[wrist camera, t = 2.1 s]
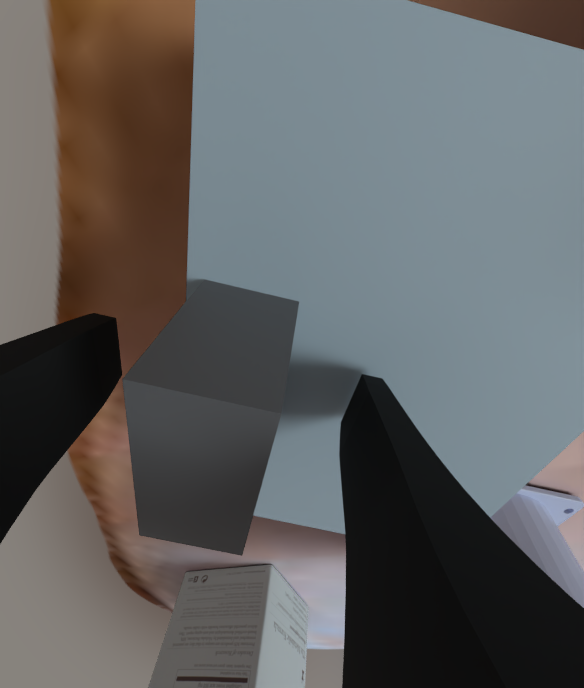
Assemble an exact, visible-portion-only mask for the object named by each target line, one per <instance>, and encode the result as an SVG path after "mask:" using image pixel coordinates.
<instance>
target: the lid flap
mask: <svg viewBox="0 0 584 688" xmlns="http://www.w3.org/2000/svg"><path fill="white" fill-rule="evenodd" d="M362 374H365V375H369V376H374V377H378V378H382V379H383V380H384V381H385V383H386V384H387V385H388V387H389V388H390V390H391V391H392V393H393V394H394V396H395V397H396V399H397V400H398V402H399V403H400V405H401V406H402V407H403V409H404V410H405V412H406V413H407V415H408V416H409V418H410V419H411V421H412V422H413V423H414V425H415V426H416V428H417V429H418V431H419V432H420V433H421V435H422V436H423V437H424V439H425V440H426V442H427V443H428V444H429V446H430V447H431V448H432V450H433V451H434V452H435V454H436V455H437V456H438V457H439V459H440V460H441V461H442V462H443V464H444V465H445V466H446V467H447V469H448V470H449V471H450V472H451V474H452V475H453V476H454V477H455V479H456V480H457V481H458V482H459V483H460V484H461V486H462V487H463V488H464V489H465V490H466V492H467V493H468V494H469V495H470V496H471V497H472V498H473V499H474V500H475V501H476V503H477V504H478V505H479V506H480V507H481V508H482V509H483V510H484V511H485V513H486V514H487V515H488V516H489V517H492V516H493V515H494V514H495V513H496V512H497V511H498V510H499V509H500V508H501V507H502V506H503V505H504V504H506V503H507V502H508V501H509V500H510V499H511V498H512V497H513V496H514V495H515V494H516V493H517V492H518V491H520V490H521V489H522V488H523V487H524V486H525V485H526V484H527V483H528V482H529V481H530V480H531V479H533V478H534V477H535V476H536V475H537V474H538V473H539V472H540V471H541V470H542V469H543V468H544V467H545V466H547V465H548V464H549V463H550V462H551V461H552V460H553V459H554V458H555V457H556V456H557V455H558V454H559V453H561V452H562V451H563V450H564V449H565V448H566V447H567V446H568V445H569V444H570V443H571V442H572V441H573V440H575V439H576V438H577V437H578V436H579V435H580V434H581V433H582V432H583V431H584V50H582V49H579V48H575V47H572V46H568V45H565V44H561V43H557V42H554V41H550V40H547V39H543V38H540V37H536V36H532V35H529V34H525V33H522V32H518V31H515V30H511V29H507V28H504V27H500V26H497V25H493V24H490V23H486V22H483V21H479V20H475V19H472V18H468V17H465V16H461V15H458V14H454V13H450V12H447V11H443V10H440V9H436V8H433V7H429V6H425V5H422V4H418V3H415V2H411V1H408V0H196V5H195V36H194V68H193V99H192V131H191V162H190V194H189V226H188V257H187V289H186V302H185V303H184V305H183V306H182V307H181V308H180V309H179V311H178V312H177V313H176V314H175V316H174V317H173V318H172V319H171V320H170V322H169V323H168V324H167V325H166V327H165V328H164V329H163V330H162V331H161V333H160V334H159V335H158V336H157V338H156V339H155V340H154V341H153V342H152V344H151V345H150V346H149V347H148V349H147V350H146V351H145V352H144V353H143V355H142V356H141V357H140V358H139V359H138V361H137V362H136V363H135V364H134V366H133V367H132V368H131V369H130V370H129V372H128V373H127V374H126V375H125V377H124V378H123V379H122V380H123V389H124V398H125V407H126V417H127V426H128V435H129V444H130V453H131V463H132V472H133V481H134V490H135V499H136V509H137V518H138V527H139V535H141V536H146V537H151V538H156V539H161V540H166V541H171V542H176V543H181V544H186V545H191V546H197V547H202V548H207V549H212V550H217V551H222V552H227V553H232V554H237V555H242V554H243V550H244V547H245V543H246V539H247V536H248V532H249V529H250V525H251V521H252V518H253V516H258V517H263V518H268V519H273V520H278V521H282V522H287V523H292V524H297V525H302V526H307V527H312V528H317V529H322V530H326V531H331V532H336V533H341V534H345V522H344V510H343V498H342V485H341V472H340V459H339V447H340V426H341V421H342V418H343V416H344V414H345V411H346V409H347V407H348V405H349V402H350V400H351V398H352V395H353V393H354V391H355V388H356V386H357V384H358V382H359V379H360V377H361V375H362Z"/></svg>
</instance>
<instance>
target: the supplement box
mask: <svg viewBox="0 0 584 688" xmlns="http://www.w3.org/2000/svg"><path fill="white" fill-rule="evenodd" d="M307 629H308V606H307V605H306V604H305V603H304V602H303V601H302V600H301V598H300V597H299V596H298V595H297V594H296V592H295V591H294V590H293V589H292V588H291V587H290V585H289V584H288V583H287V582H286V581H285V579H284V578H283V577H282V576H281V575H280V574H279V572H278V571H277V570H276V569H275V568H274V566H273V565H271V564H270V565H259V566H248V567H236V568H224V569H213V570H202V571H189V572H186V573H185V576H184V579H183V582H182V585H181V588H180V591H179V594H178V597H177V600H176V604H175V607H174V610H173V613H172V616H171V619H170V622H169V625H168V628H167V631H166V634H165V637H164V640H163V643H162V646H161V650H160V653H159V656H158V659H157V662H156V665H155V668H154V671H153V674H152V678H151V680H150V684H149V687H148V688H305V674H306V673H305V672H306V652H307Z"/></svg>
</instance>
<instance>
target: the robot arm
mask: <svg viewBox="0 0 584 688" xmlns="http://www.w3.org/2000/svg"><path fill="white" fill-rule="evenodd" d="M121 376H122V368H121V359H120V350H119V340H118V331H117V322H116V318H113V317H109V316H105V315H100V314H96V313H93V314H89V315H85V316H82V317H79V318H76V319H73V320H70V321H67V322H64V323H61V324H58V325H55V326H53V327H50V328H47V329H44V330H42V331H39V332H36V333H33V334H30V335H27V336H24V337H22V338H19V339H16V340H13V341H10V342H8V343H5V344H2V345H0V543H1V542H2V540H3V539H4V537H5V536H6V534H7V532H8V531H9V529H10V528H11V526H12V525H13V523H14V522H15V520H16V519H17V517H18V516H19V514H20V513H21V511H22V509H23V508H24V506H25V505H26V504H27V502H28V501H29V499H30V498H31V496H32V495H33V493H34V492H35V490H36V489H37V487H38V486H39V485H40V483H41V482H42V481H43V480H44V478H45V477H46V476H47V474H48V473H49V472H50V471H51V469H52V468H53V467H54V466H55V465H56V463H57V462H58V461H59V459H60V458H61V457H62V456H63V455H64V453H65V452H66V451H67V450H68V449H69V447H70V446H71V445H72V444H73V442H74V441H75V440H76V439H77V438H78V436H79V435H80V434H81V433H82V431H83V430H84V429H85V428H86V427H87V425H88V424H89V423H90V422H91V420H92V419H93V418H94V417H95V415H96V414H97V413H98V412H99V410H100V409H101V408H102V406H103V405H104V404H105V402H106V401H107V399H108V397H109V396H110V394H111V393H112V391H113V389H114V388H115V386H116V384H117V383H118V381H119V379H120V377H121ZM339 459H340V472H341V485H342V498H343V510H344V522H345V535H346V605H345V641H344V664H343V685H342V688H584V572H583V570H582V568H581V566H580V565H579V563H578V561H577V560H576V558H575V556H574V554H573V553H572V551H571V549H570V548H569V546H568V544H567V542H566V541H565V539H564V537H563V536H562V534H561V532H560V530H559V529H558V527H557V526H559V525H560V524H561V523H563V522H564V521H565V520H567V519H568V518H570V517H571V516H572V515H574V514H575V513H576V512H578V511H579V510H580V509H582V508H583V506H584V503H583V502H582V500H581V499H580V498H579V497H577V496H572V495H568V494H563V493H559V492H554V491H549V490H545V489H540V488H536V487H531V486H526V485H525V486H524V487H523V488H522V489H521V490H520V491H518V492H517V493H516V494H515V495H514V496H513V497H512V498H511V499H510V500H509V501H508V502H507V503H506V504H504V505H503V506H502V507H501V508H500V509H499V510H498V511H497V512H496V513H495V514H494V515H493V516H492V517H489V516H488V515H487V514H486V513H485V511H484V510H483V509H482V508H481V507H480V506H479V505H478V504H477V503H476V501H475V500H474V499H473V498H472V497H471V496H470V495H469V494H468V493H467V492H466V490H465V489H464V488H463V487H462V486H461V484H460V483H459V482H458V481H457V480H456V479H455V477H454V476H453V475H452V474H451V472H450V471H449V470H448V469H447V467H446V466H445V465H444V464H443V462H442V461H441V460H440V459H439V457H438V456H437V455H436V454H435V452H434V451H433V450H432V448H431V447H430V446H429V444H428V443H427V442H426V440H425V439H424V437H423V436H422V435H421V433H420V432H419V431H418V429H417V428H416V426H415V425H414V423H413V422H412V421H411V419H410V418H409V416H408V415H407V413H406V412H405V410H404V409H403V407H402V406H401V405H400V403H399V402H398V400H397V399H396V397H395V396H394V394H393V393H392V391H391V390H390V388H389V387H388V385H387V384H386V383H385V381H384V380H383V379H382V378H378V377H374V376H369V375H365V374H362V375H361V377H360V379H359V382H358V384H357V386H356V388H355V391H354V393H353V395H352V398H351V400H350V402H349V405H348V407H347V409H346V411H345V414H344V416H343V418H342V421H341V426H340V447H339Z"/></svg>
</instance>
